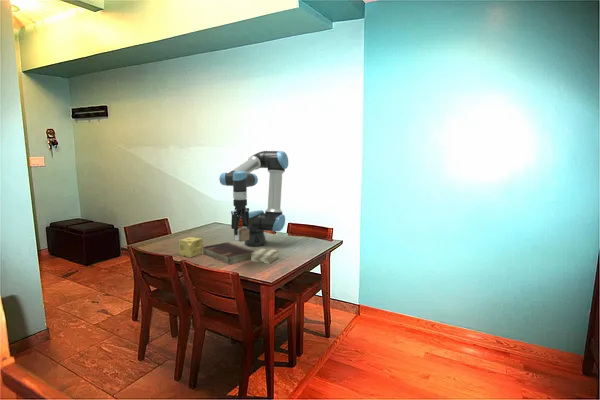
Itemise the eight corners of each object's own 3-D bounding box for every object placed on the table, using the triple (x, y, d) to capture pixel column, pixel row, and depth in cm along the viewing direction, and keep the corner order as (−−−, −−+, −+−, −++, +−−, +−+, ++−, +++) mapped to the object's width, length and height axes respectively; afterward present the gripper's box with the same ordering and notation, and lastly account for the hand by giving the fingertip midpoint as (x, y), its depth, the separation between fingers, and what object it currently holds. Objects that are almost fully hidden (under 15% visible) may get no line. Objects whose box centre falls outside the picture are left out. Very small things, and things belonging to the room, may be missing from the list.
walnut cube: (234, 240, 199) (234, 229, 198) (241, 238, 204) (241, 227, 203) (242, 241, 196) (241, 231, 195) (249, 239, 201) (249, 229, 200)
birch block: (251, 261, 208) (251, 253, 207) (260, 256, 219) (260, 248, 218) (269, 264, 204) (269, 255, 203) (278, 258, 215) (278, 250, 214)
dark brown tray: (255, 258, 214) (255, 250, 214) (229, 265, 201) (229, 256, 201) (228, 248, 235) (228, 241, 234) (203, 254, 222) (203, 246, 221)
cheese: (190, 258, 213) (189, 242, 212) (178, 255, 219) (177, 239, 217) (203, 253, 222) (202, 238, 220) (191, 251, 227) (191, 236, 226)
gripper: (234, 201, 187) (235, 243, 190) (255, 197, 204) (256, 236, 207) (223, 200, 190) (224, 242, 194) (245, 196, 207) (245, 234, 210)
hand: (240, 238), depth 200 cm, fingers closed on walnut cube, 6 cm apart
